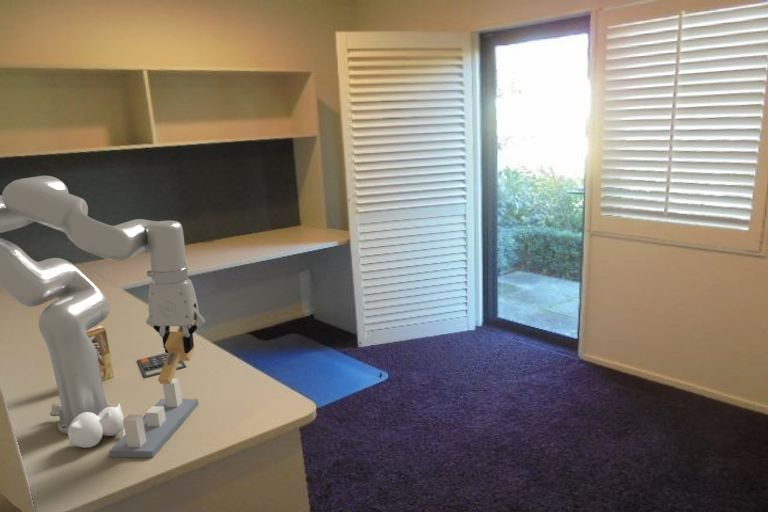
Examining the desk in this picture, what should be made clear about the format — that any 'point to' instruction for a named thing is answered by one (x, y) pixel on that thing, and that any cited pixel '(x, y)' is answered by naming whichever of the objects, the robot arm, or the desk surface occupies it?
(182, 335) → the tan bar with handles
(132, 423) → the display stand
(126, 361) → the desk surface
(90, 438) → the cat figurine
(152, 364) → the calculator
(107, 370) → the candy box
